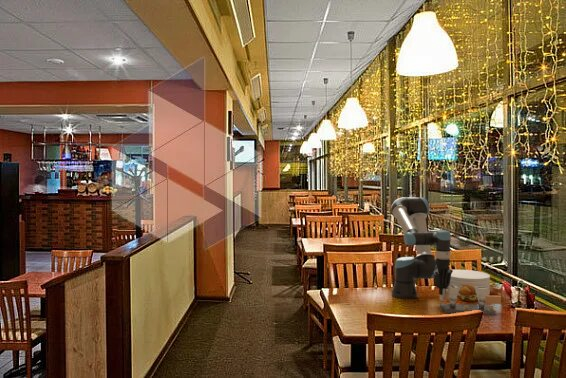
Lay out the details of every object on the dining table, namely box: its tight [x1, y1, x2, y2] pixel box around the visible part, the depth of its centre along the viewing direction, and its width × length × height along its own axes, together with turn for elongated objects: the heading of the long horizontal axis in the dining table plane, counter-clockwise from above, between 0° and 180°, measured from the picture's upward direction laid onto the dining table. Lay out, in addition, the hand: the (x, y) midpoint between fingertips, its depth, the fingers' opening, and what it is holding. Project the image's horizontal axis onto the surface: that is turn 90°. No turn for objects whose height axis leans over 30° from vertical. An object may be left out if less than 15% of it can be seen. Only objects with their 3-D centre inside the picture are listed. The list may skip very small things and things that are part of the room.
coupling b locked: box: [476, 287, 502, 305], centre depth 250 cm, size 12×4×9 cm, turn 85°
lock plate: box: [439, 299, 497, 316], centre depth 251 cm, size 26×12×6 cm, turn 85°
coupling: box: [445, 286, 458, 302], centre depth 255 cm, size 12×4×9 cm, turn 175°
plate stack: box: [446, 269, 491, 297], centre depth 294 cm, size 28×28×12 cm
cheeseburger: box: [458, 285, 477, 302], centre depth 273 cm, size 10×11×10 cm
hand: (442, 300), depth 258 cm, fingers closed
